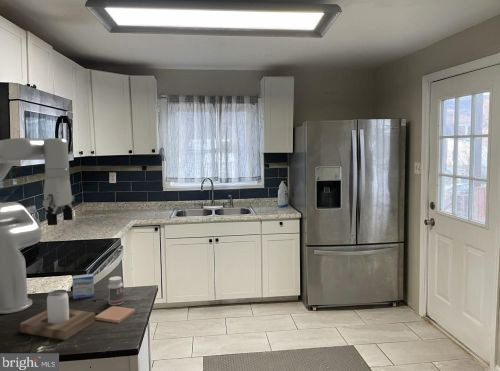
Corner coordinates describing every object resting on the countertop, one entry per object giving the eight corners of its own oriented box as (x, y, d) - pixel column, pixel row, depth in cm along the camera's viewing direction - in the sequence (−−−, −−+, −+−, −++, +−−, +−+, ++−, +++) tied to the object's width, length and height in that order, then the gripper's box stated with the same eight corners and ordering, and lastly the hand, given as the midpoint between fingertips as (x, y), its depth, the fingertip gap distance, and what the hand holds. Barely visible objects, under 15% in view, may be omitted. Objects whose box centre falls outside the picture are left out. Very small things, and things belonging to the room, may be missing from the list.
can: (60, 331, 126) (59, 296, 125) (43, 330, 127) (42, 295, 126) (73, 323, 132) (72, 289, 131) (57, 321, 134) (55, 288, 132)
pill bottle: (126, 301, 151) (126, 277, 150) (114, 306, 146) (114, 281, 145) (117, 298, 154) (116, 275, 153) (105, 303, 149) (104, 279, 148)
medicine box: (73, 299, 153) (72, 278, 152) (73, 295, 157) (72, 275, 156) (94, 296, 156) (93, 276, 155) (94, 292, 160) (93, 272, 160)
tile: (94, 319, 135) (94, 316, 135) (112, 308, 145) (112, 305, 144) (118, 323, 132) (118, 320, 132) (135, 311, 142) (135, 309, 142)
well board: (20, 332, 126) (20, 323, 125) (53, 314, 139) (53, 306, 139) (65, 340, 120) (64, 330, 120) (95, 321, 134) (94, 312, 134)
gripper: (61, 172, 142) (63, 218, 143) (31, 175, 124) (35, 227, 126) (80, 172, 141) (83, 218, 142) (53, 175, 124) (56, 227, 125)
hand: (60, 222), depth 134 cm, fingers open, 9 cm apart
